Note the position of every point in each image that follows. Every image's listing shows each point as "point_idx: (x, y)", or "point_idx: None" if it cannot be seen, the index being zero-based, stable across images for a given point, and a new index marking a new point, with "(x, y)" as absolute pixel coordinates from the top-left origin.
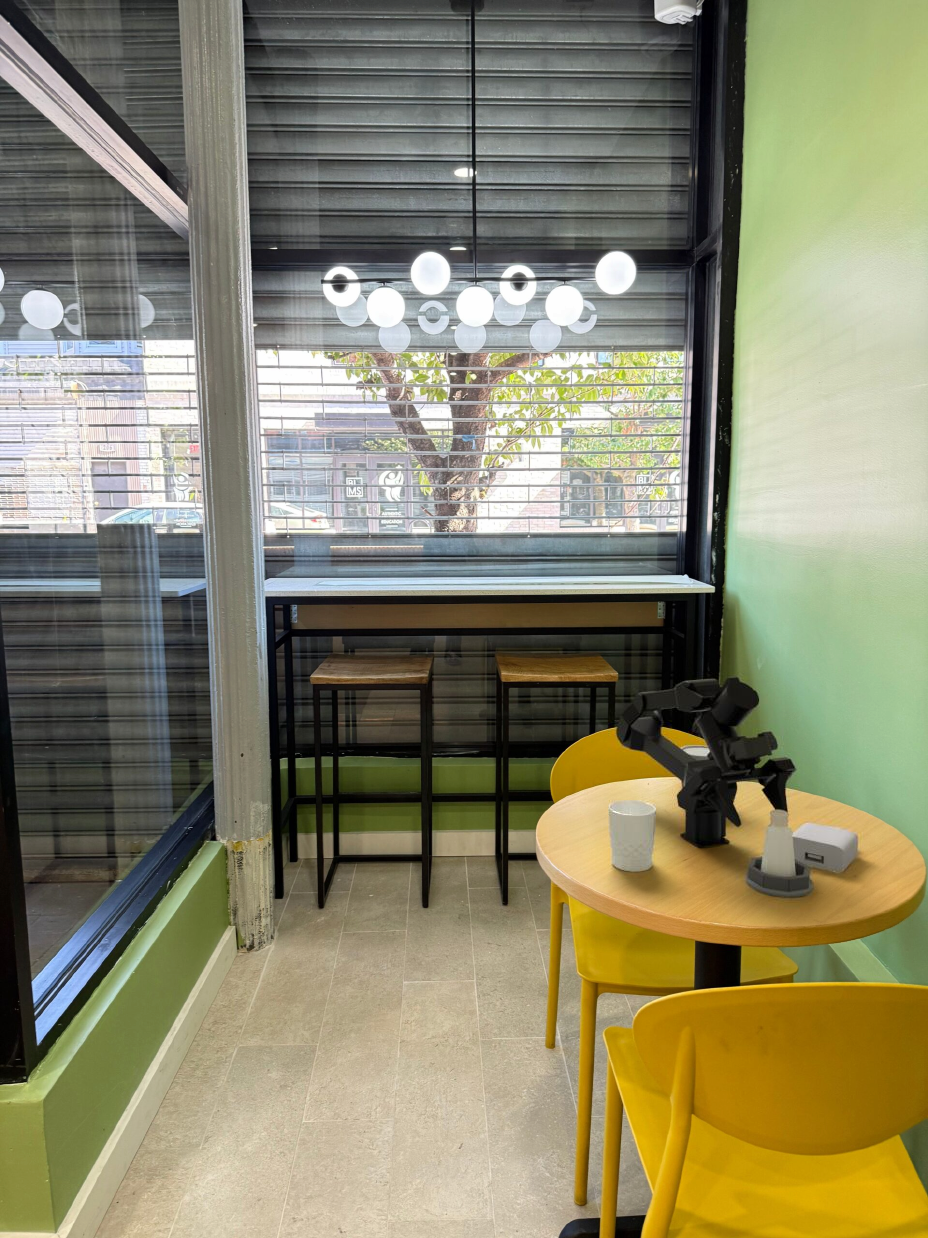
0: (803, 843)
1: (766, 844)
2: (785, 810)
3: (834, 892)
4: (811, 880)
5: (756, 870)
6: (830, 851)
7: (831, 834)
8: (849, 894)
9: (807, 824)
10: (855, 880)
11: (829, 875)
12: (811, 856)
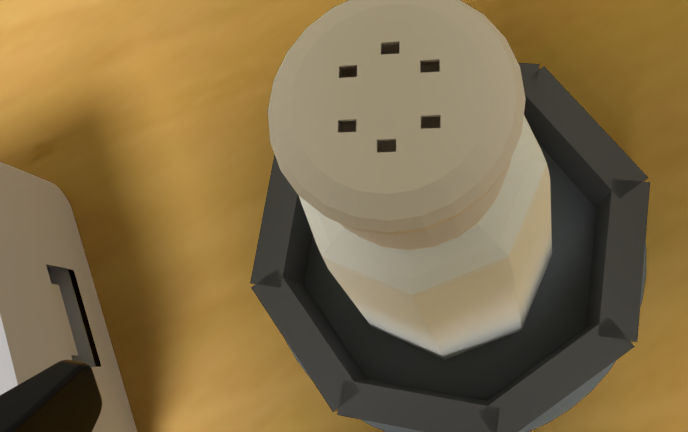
0: None
1: (530, 254)
2: (18, 405)
3: (278, 59)
4: None
5: (634, 260)
6: (8, 223)
7: None
8: (238, 18)
9: None
10: (82, 114)
11: (128, 209)
12: (68, 336)
